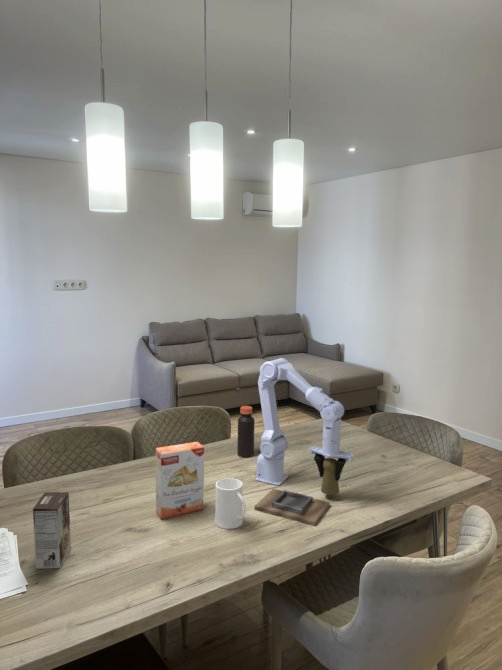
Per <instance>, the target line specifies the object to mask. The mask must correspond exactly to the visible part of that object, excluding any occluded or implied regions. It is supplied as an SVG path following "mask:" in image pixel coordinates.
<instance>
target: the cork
mask: <svg viewBox="0 0 502 670" xmlns="http://www.w3.org/2000/svg"><path fill="white" fill-rule="evenodd" d="M337 460H338V459H337V458H332V457H330V458H328V457H325V459H324V461H323V463H322V465H323V468H324V473H323V476H322V479H321V480H322V481H321V482H322V483H321V489H320V491H321V493H322V494H324V495H328V496H334V495H338V494H339V493H340V486H339V480H338V481H336V461H337Z"/></svg>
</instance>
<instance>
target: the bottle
mask: <svg viewBox="0 0 502 670" xmlns="http://www.w3.org/2000/svg"><path fill="white" fill-rule="evenodd" d="M239 409H240V410H239V412H240V416H239V417H238V419H237V456H239V457H240V456H241V457H240V458H251V457H253V456H254V455H255V418H254V417H253V416H252V415H253V407H252V406H250V405H242V406H241V407H240V408H239Z"/></svg>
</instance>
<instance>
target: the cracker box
mask: <svg viewBox="0 0 502 670" xmlns="http://www.w3.org/2000/svg"><path fill="white" fill-rule="evenodd" d="M204 482H205V447H204V446H203V444H201V443H200V442H199V441H193V442H187V443H180V444H174V445H173V444H172V445H167V446H160V447H156V448H155V511H156V514H158V517H159V518H160V519H161V520H163V519H168V518H172V517H177V516H180V515H184V514H190V513H194V512H198V511H203V510H204V494H205V493H204V489H205V488H204V485H205V483H204Z"/></svg>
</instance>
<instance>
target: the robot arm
mask: <svg viewBox="0 0 502 670" xmlns="http://www.w3.org/2000/svg"><path fill="white" fill-rule="evenodd" d="M279 380H280V381H288V382H289V383H290V384H292V385H293V386H294V387H296V388H297V389H298V390H299V391H301V392H302V393H303V394H304V395H305V400H306V401H307V402H308V403H309V404H310V405H312V406H313V408H315V409H316V410H317V411H318V412H319V413H320V417H321V419H322V421H323V422H322V423H323V424H322V425H323V426H322V447H318V446H310V447H309V448H308V454H309V455H314V457H313V460H314V462H315V463H316V466H317V469H318V474H319V477H320V478H323V473H324V468H323V465H322V463H323V461H324V459H326V458H333V459H336V460H337V461H336V481H338V482H339V480H340V479H341V474H342V472H343V469H344V467H345V465H346V463H347V462H349V463H352V462H353V461H354V454H351V453H348V452H346V451H342V450H341V449H340V448H341V430H342V428H341V427H342V417H343V416H344V414H345V407H344V405H343V404H342V403H341V402H340V401H338V400H334V399H333V398H332V397H330V396H328V394H326V393H325V392H324V389H323V388H321V387H318V386H312V385H311V384H310V383H309V382H308V381H307V380H306V379H305V378H304V377H303V376H302V375H301V374H300V373H299V372H298V371H297V370H296V369H295V368H294V366H293V364H292V363H291V362H289V361H288V360H287V359H286V358H283V357H279V358H277V359H273V360H270V361H269V360H268V361H267V360H266V361H265V362H263V364H261V366H260V367H259V376H258V380H257V385H258V393H259V399H260V406H261V415H262V421H263V428H264V431H263V432H262V433H263V434H262V435H261V437H260V440H261V441H260V447H259V450H260V454H259V455H258V456H257V459H256V478H255V481H258V482H263V483H266V484H270V485H275V486H280V485H281V484H282V483H284V481H286V480H287V478H288V475H284V472H285V471H284V470H285V452H286V451H287V449H288V448H289V447H288V446H289V442H288V440H287V438H286V436H285V431H284V430H282V429H281V428H280V422H279V412H278V406H277V405H278V404H277V400H276V392H275V384H276V383H277V382H279Z"/></svg>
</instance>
